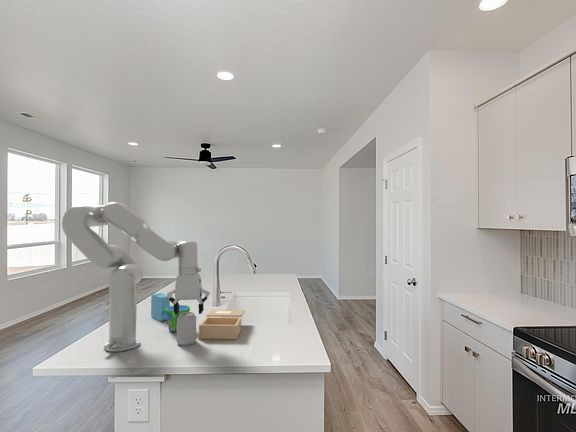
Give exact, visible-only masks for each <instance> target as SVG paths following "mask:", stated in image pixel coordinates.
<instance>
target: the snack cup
mask: <svg viewBox="0 0 576 432" xmlns="http://www.w3.org/2000/svg"><path fill="white" fill-rule="evenodd" d="M183 312H191V307H190V306H189V305H185V304H179V313H178V314H176V315H175V312H174V305H170V307H167V308H166V313H167V320H166V321H167V327H168V331H169V332H171V333H177V318H178V317H179V314H180V313H183Z"/></svg>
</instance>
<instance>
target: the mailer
mask: <svg viewBox="0 0 576 432" xmlns="http://www.w3.org/2000/svg"><path fill="white" fill-rule="evenodd" d="M240 331H241V332H242V317H207V316H206V317H205V318H204V319H203V320H202V321H201V322H200V324H199V325H198V340H199V341H201V340H202V341H203V340H204V341H205V340H208V341H210V340H212V341H238V339H237V338H239V337H238V336H240V335H241V332H240Z"/></svg>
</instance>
